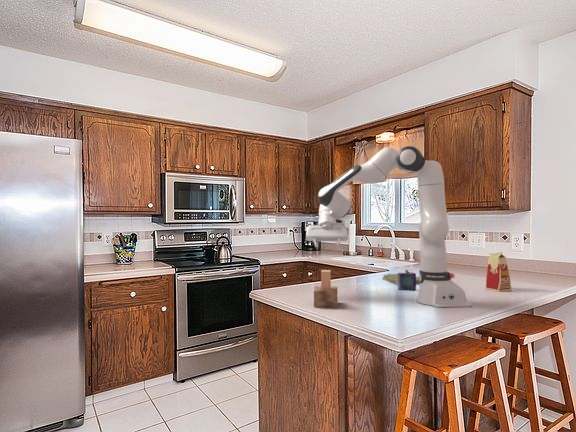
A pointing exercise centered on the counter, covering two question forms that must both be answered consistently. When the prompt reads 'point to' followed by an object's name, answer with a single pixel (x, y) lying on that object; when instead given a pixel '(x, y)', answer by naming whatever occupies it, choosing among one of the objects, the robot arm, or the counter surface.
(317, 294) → the small wooden cube
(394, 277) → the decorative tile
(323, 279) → the terracotta block
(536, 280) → the counter surface
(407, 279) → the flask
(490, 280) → the milk carton
